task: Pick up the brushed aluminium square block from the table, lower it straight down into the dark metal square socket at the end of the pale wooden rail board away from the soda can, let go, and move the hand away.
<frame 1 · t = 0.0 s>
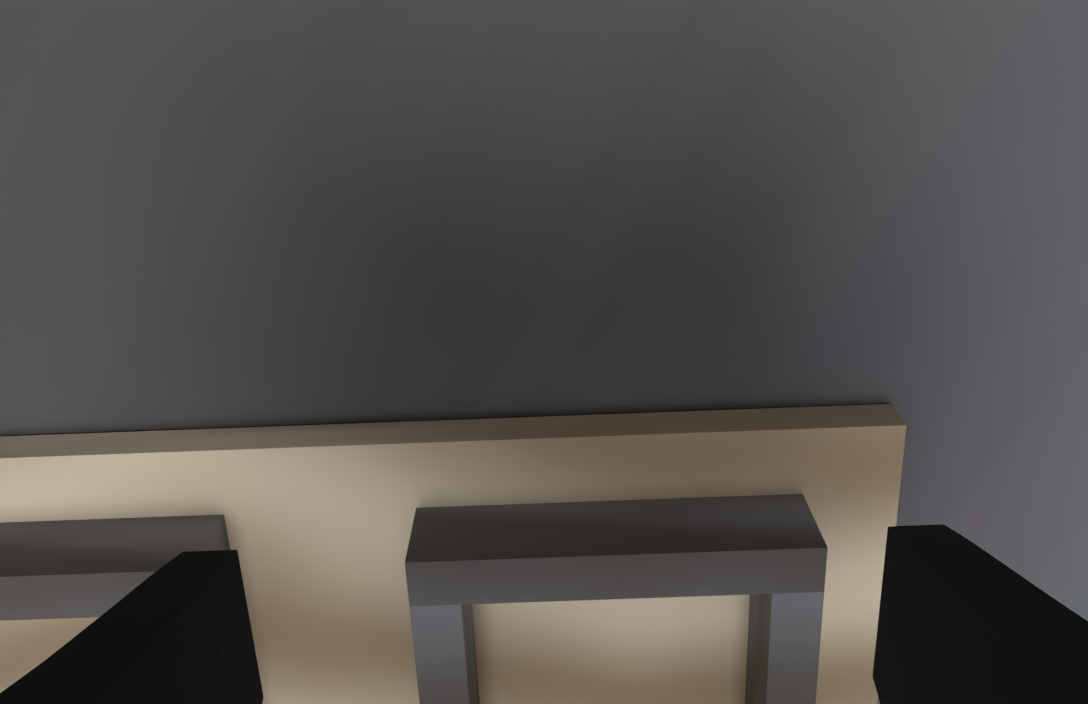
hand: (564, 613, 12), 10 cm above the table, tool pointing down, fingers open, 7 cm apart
rail: (349, 638, 24), on the table
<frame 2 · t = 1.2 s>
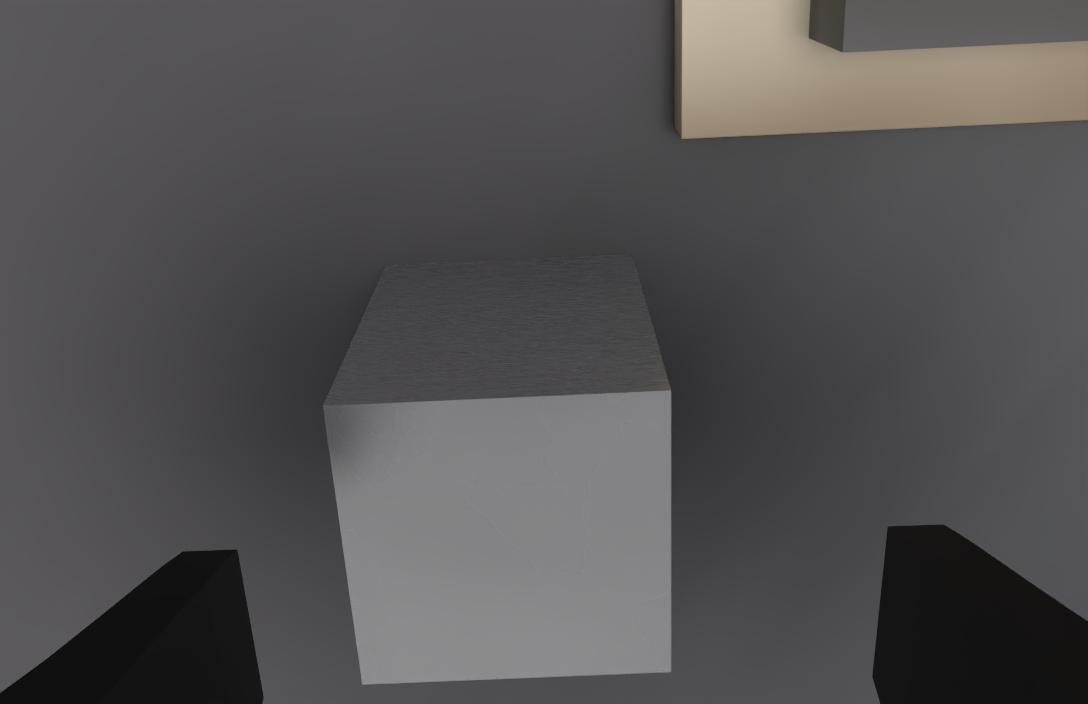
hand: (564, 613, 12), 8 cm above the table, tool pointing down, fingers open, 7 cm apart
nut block: (516, 371, 20), on the table
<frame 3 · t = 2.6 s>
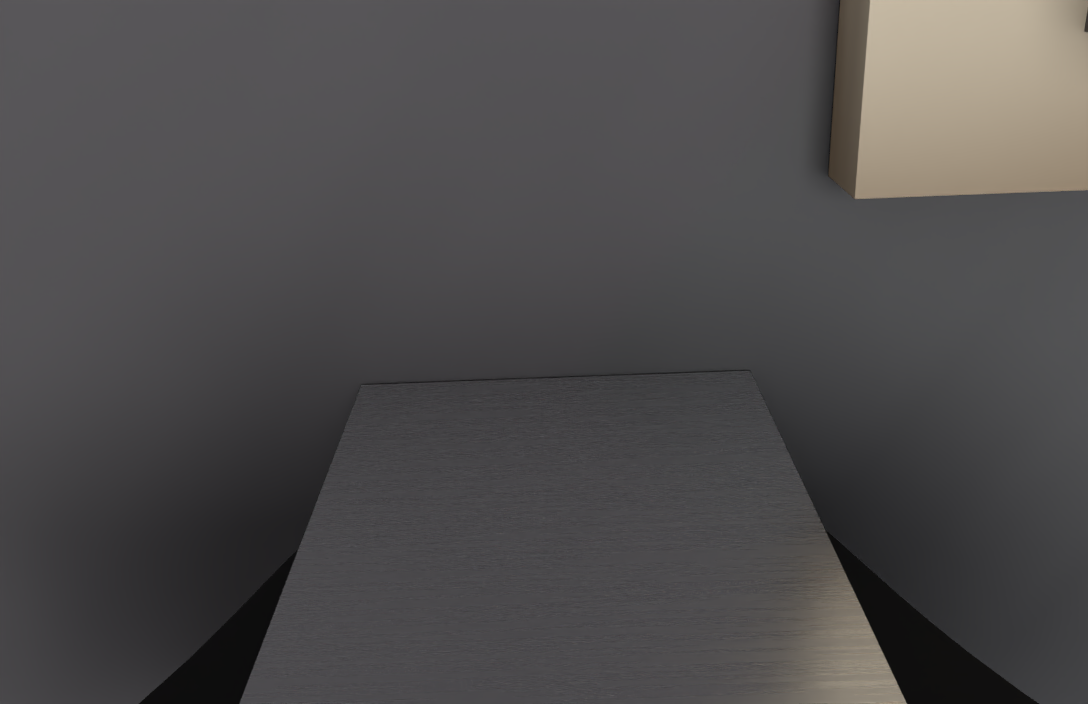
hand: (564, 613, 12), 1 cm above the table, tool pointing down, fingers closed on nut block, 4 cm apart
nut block: (561, 543, 13), on the table, touching gripper
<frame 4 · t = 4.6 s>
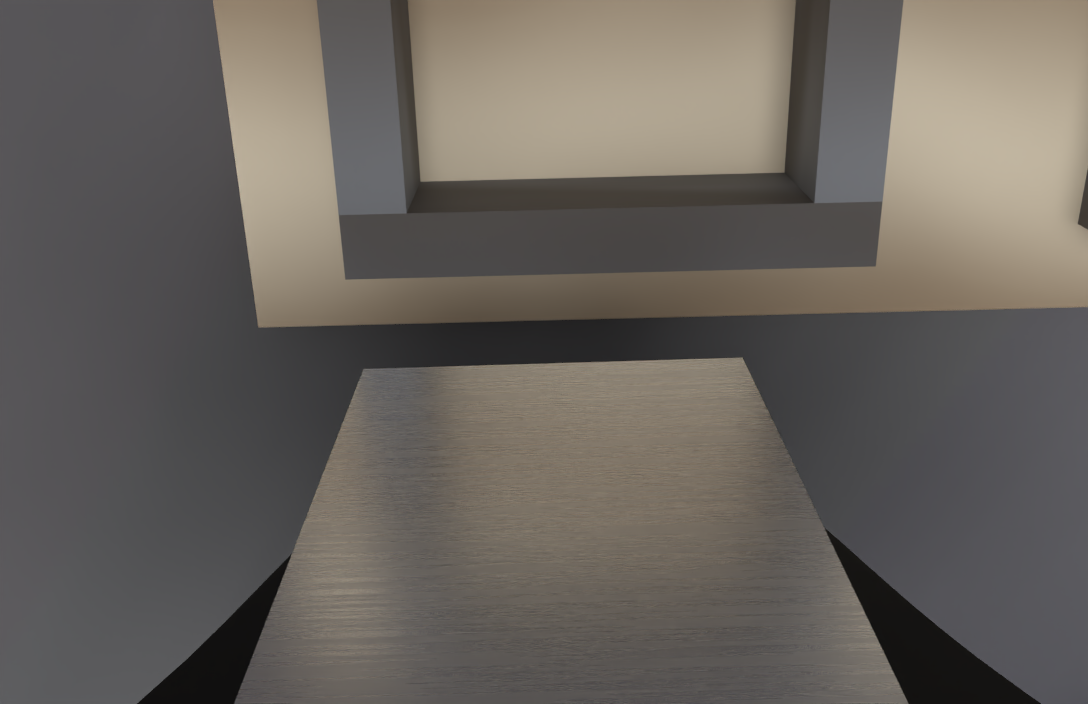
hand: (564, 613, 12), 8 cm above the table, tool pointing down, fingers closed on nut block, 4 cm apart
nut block: (557, 526, 13), point 7 cm above the table, touching gripper
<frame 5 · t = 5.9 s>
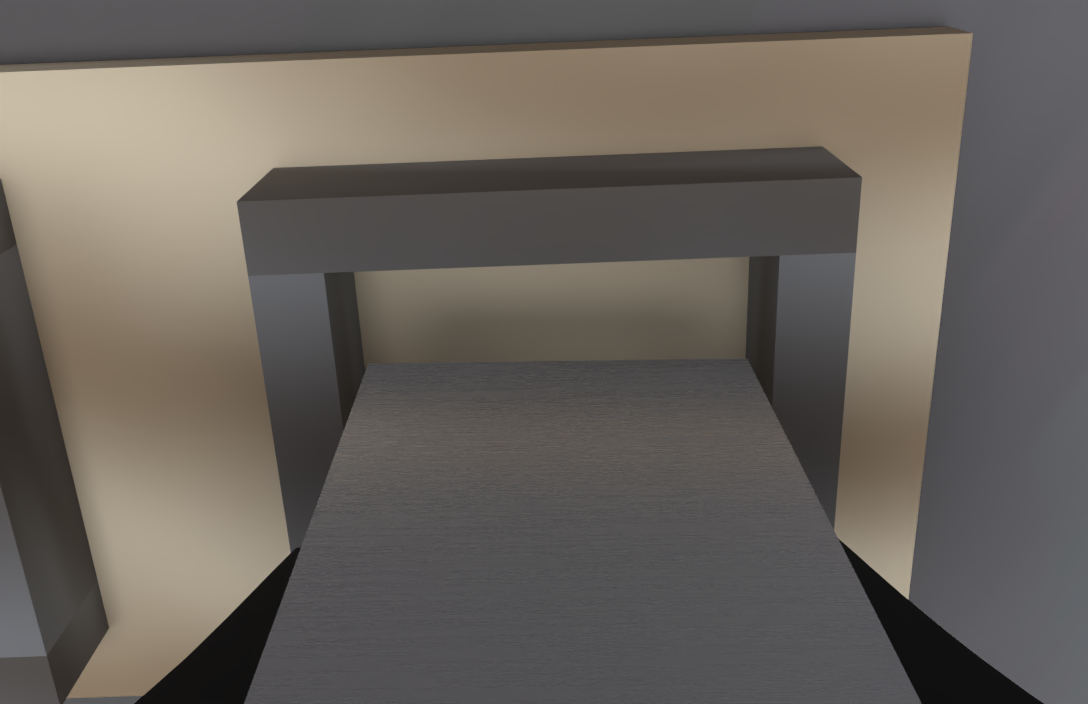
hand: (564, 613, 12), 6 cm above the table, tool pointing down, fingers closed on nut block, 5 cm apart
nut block: (558, 524, 13), point 5 cm above the table, touching gripper
rail: (202, 393, 18), on the table
when the fingers open (4 cm above the table, at t = 6.8 s): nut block drops 1 cm, resting on rail.
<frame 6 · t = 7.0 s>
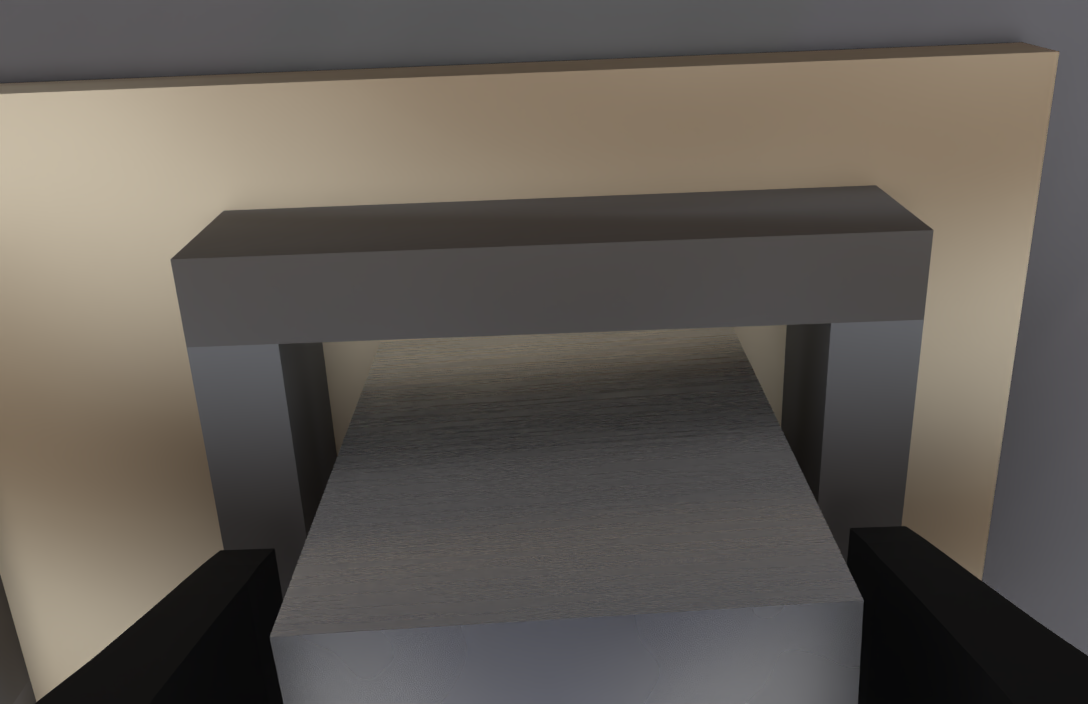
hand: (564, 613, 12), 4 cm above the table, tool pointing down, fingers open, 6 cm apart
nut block: (564, 482, 14), point 1 cm above the table, touching rail
rail: (149, 464, 15), on the table
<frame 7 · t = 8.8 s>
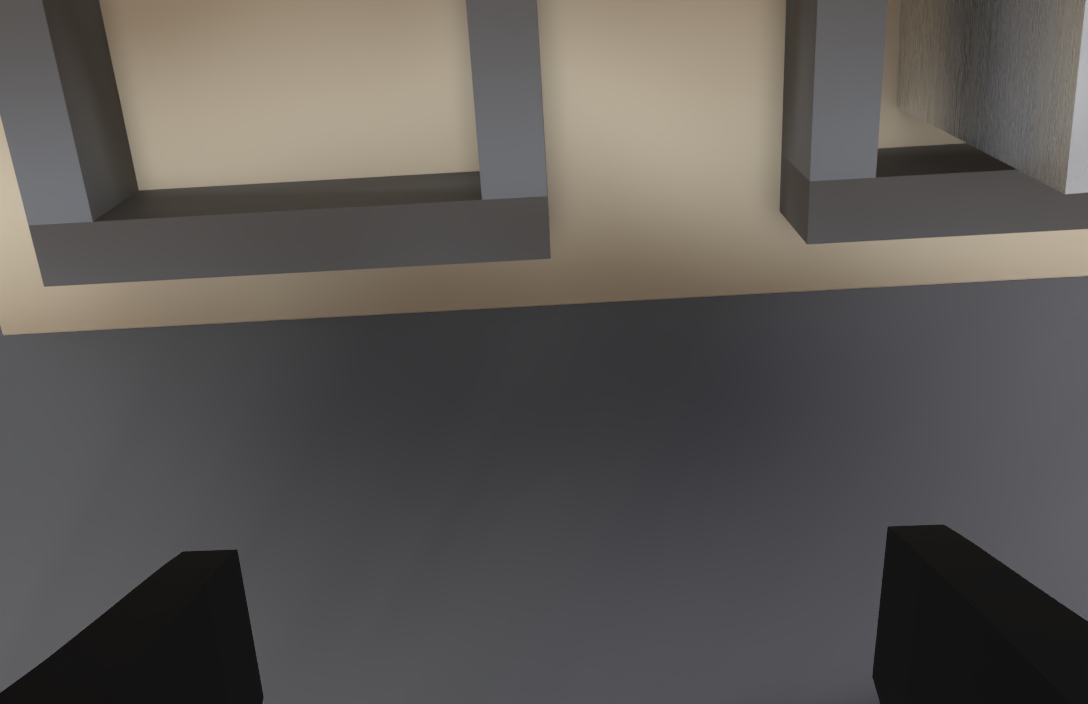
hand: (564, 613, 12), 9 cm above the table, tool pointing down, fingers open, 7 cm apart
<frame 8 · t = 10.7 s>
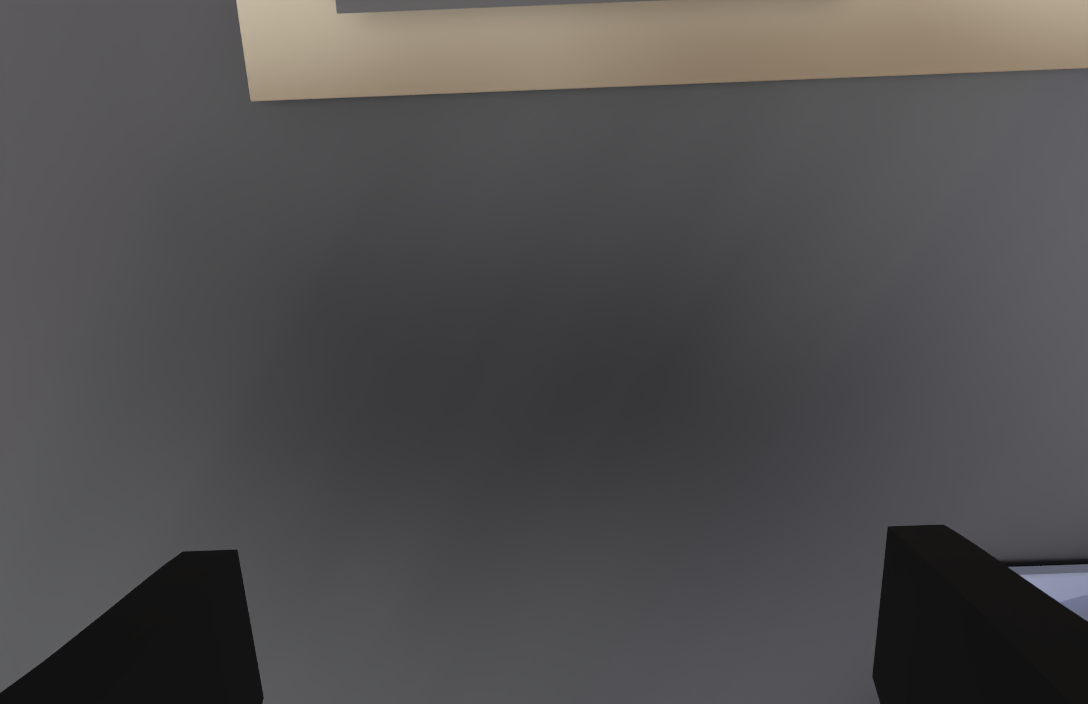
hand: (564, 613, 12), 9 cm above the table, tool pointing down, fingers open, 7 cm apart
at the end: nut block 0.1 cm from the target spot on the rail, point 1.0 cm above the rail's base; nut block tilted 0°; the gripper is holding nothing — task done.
